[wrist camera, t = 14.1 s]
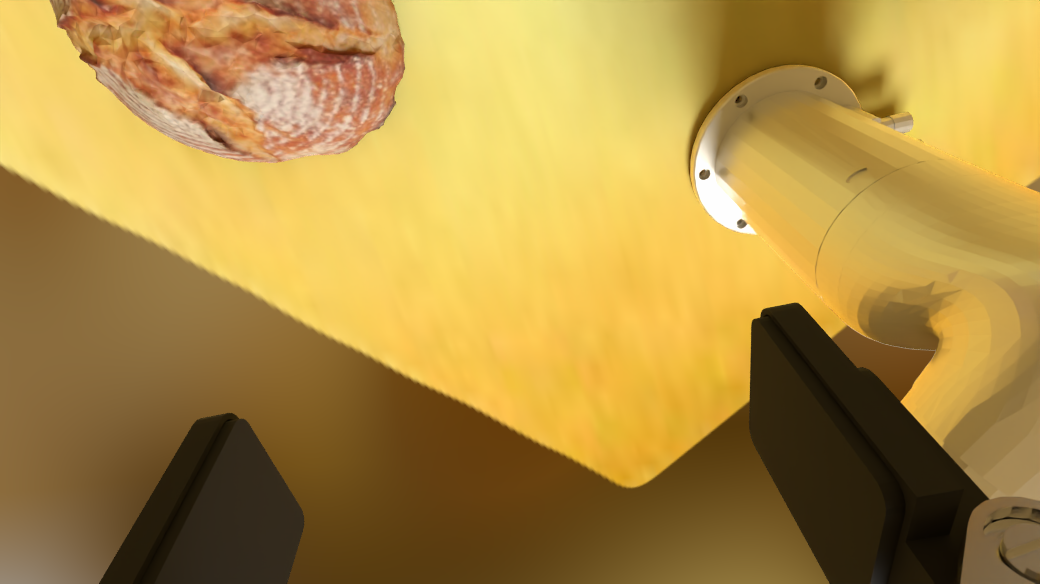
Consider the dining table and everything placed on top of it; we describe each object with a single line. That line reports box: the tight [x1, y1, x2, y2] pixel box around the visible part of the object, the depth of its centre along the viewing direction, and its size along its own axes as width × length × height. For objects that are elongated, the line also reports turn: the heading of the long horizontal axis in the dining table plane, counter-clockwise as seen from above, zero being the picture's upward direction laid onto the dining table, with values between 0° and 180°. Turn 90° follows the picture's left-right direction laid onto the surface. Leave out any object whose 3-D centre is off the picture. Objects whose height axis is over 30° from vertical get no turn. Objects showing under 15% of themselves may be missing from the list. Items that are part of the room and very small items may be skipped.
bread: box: [50, 0, 405, 163], centre depth 32 cm, size 16×20×10 cm
